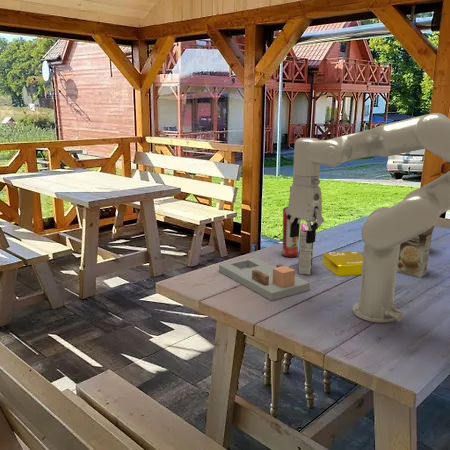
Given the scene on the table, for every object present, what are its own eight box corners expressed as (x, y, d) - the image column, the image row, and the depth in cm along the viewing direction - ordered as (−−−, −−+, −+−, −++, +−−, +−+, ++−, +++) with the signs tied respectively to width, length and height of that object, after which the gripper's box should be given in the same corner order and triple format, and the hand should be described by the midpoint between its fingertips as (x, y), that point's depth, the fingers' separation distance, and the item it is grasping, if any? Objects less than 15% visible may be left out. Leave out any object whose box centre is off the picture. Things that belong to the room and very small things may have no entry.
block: (294, 284, 150) (295, 270, 148) (282, 288, 147) (283, 273, 146) (284, 279, 154) (284, 265, 152) (272, 282, 151) (273, 268, 150)
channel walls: (293, 278, 155) (293, 269, 154) (265, 285, 149) (265, 276, 148) (279, 271, 161) (279, 263, 160) (251, 278, 154) (252, 270, 154)
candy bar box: (298, 263, 176) (301, 222, 172) (312, 265, 176) (314, 223, 171) (297, 274, 166) (299, 230, 162) (311, 275, 165) (314, 231, 161)
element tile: (337, 277, 165) (338, 264, 163) (320, 263, 179) (321, 251, 178) (375, 274, 168) (377, 262, 166) (356, 261, 182) (357, 249, 181)
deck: (309, 290, 152) (310, 282, 152) (271, 300, 144) (272, 293, 143) (254, 263, 176) (254, 257, 176) (219, 271, 168) (219, 264, 167)
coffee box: (395, 271, 170) (400, 229, 166) (402, 267, 174) (407, 226, 170) (420, 278, 164) (426, 234, 160) (427, 273, 168) (433, 231, 164)
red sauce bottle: (294, 251, 190) (297, 184, 183) (302, 257, 184) (306, 187, 176) (277, 253, 188) (280, 185, 181) (285, 259, 181) (289, 188, 174)
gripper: (336, 184, 130) (332, 245, 135) (295, 175, 144) (292, 231, 149) (317, 186, 126) (313, 249, 131) (276, 177, 140) (274, 234, 145)
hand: (302, 239), depth 140 cm, fingers open, 6 cm apart
